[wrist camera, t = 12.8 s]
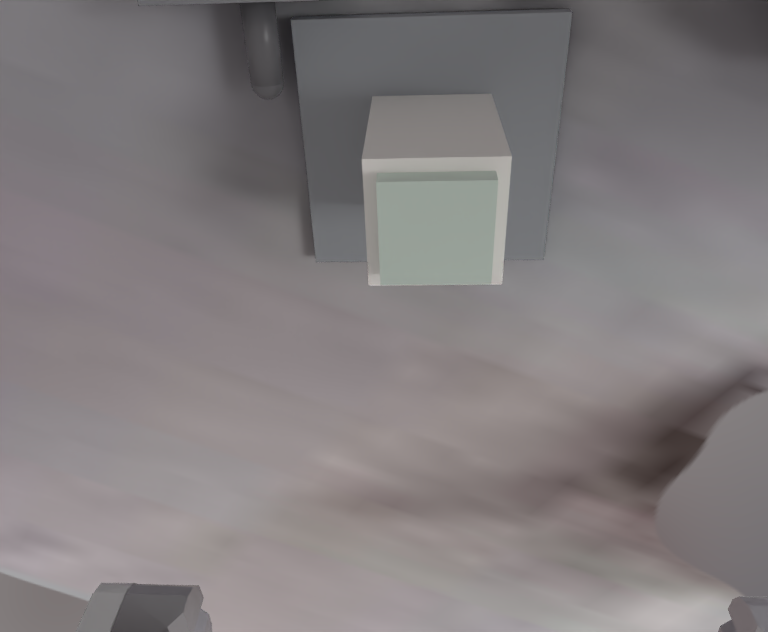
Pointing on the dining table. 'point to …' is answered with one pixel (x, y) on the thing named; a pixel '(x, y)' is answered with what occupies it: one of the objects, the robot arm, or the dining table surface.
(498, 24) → the mat
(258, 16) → the power strip
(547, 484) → the dining table surface
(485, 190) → the block
